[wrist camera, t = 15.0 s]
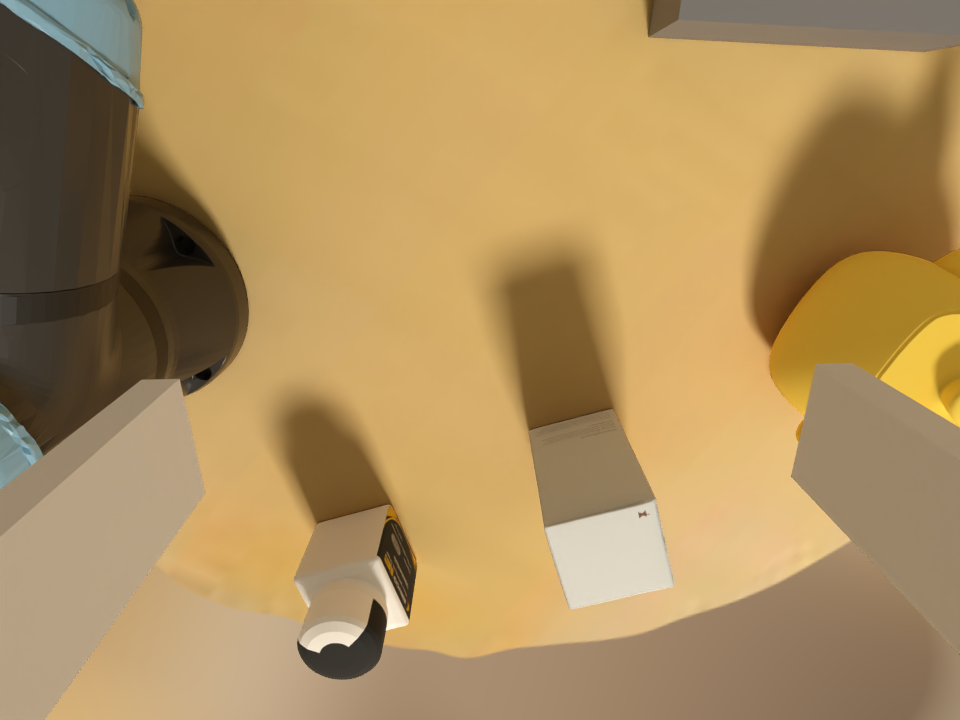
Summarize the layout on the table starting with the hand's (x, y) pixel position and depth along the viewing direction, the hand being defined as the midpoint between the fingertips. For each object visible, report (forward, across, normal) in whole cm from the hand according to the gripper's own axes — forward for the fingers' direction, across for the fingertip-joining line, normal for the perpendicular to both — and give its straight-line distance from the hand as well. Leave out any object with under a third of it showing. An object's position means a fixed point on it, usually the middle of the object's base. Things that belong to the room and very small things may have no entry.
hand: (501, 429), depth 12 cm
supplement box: (+31, +8, -20) cm, 38 cm away
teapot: (+31, +29, -8) cm, 43 cm away
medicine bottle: (+31, -10, -28) cm, 44 cm away
